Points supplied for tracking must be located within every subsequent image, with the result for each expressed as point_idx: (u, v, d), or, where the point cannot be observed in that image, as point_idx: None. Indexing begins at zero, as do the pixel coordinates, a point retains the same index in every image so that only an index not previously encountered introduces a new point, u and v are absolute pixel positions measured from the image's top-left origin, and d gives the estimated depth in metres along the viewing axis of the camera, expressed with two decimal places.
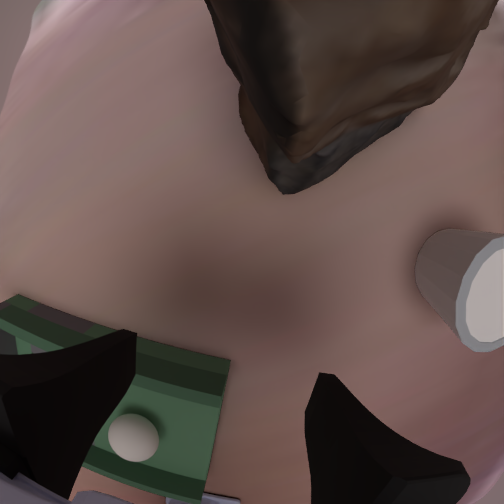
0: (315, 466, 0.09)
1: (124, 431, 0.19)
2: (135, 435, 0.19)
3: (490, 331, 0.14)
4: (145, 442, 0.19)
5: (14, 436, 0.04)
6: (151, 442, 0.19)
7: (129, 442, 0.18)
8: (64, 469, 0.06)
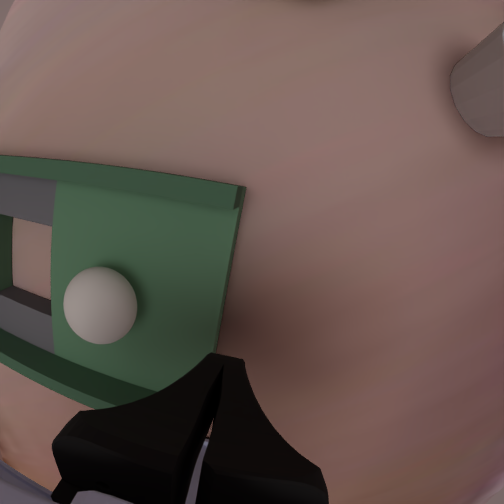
0: None
1: (86, 279, 0.14)
2: (101, 285, 0.14)
3: None
4: (114, 298, 0.14)
5: None
6: (124, 301, 0.14)
7: (90, 295, 0.13)
8: None
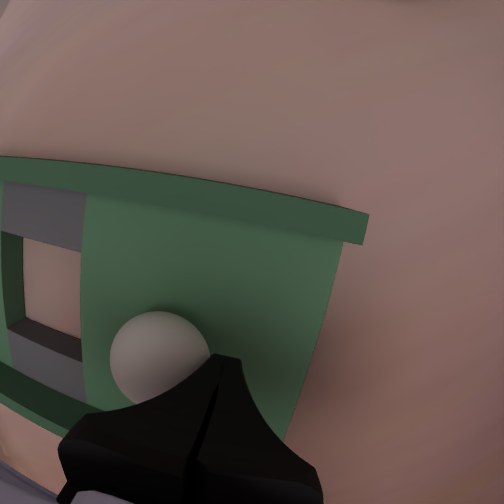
0: None
1: (145, 334, 0.10)
2: (168, 342, 0.10)
3: None
4: (188, 359, 0.10)
5: None
6: (200, 361, 0.11)
7: (154, 357, 0.10)
8: None
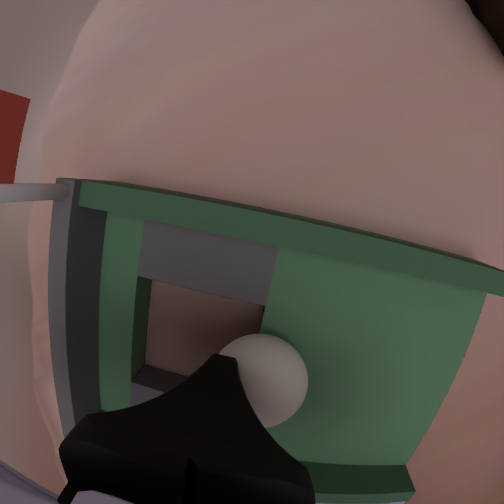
0: None
1: (264, 334, 0.13)
2: (249, 337, 0.12)
3: None
4: (230, 349, 0.12)
5: None
6: None
7: (243, 336, 0.13)
8: None
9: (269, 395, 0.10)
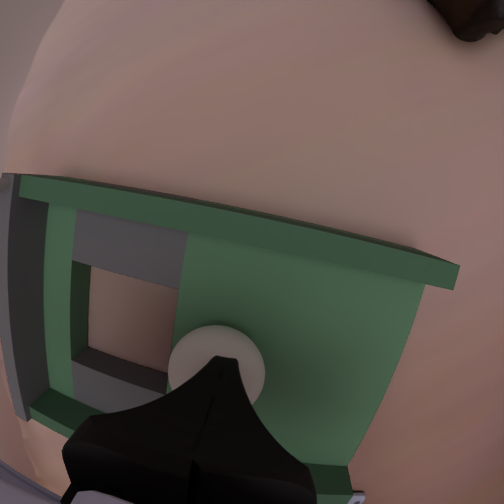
0: None
1: (204, 327, 0.12)
2: (207, 336, 0.12)
3: None
4: (206, 355, 0.11)
5: None
6: None
7: (189, 339, 0.12)
8: None
9: (262, 373, 0.12)
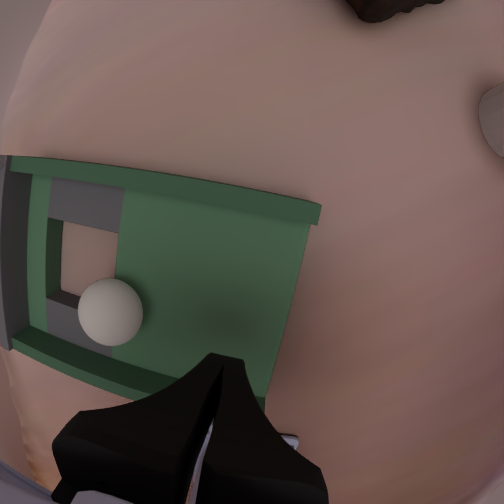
0: None
1: None
2: (83, 292, 0.17)
3: None
4: None
5: None
6: None
7: None
8: None
9: (98, 321, 0.15)
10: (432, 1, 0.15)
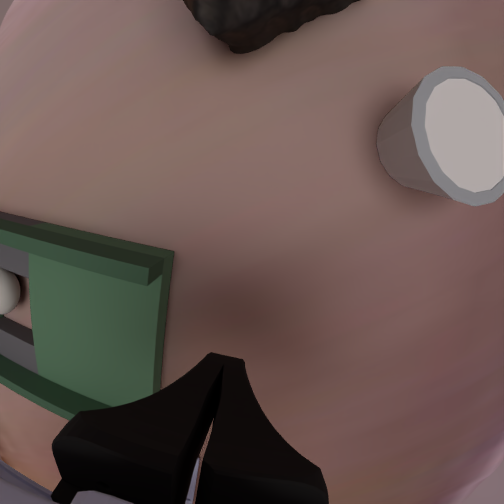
0: None
1: None
2: None
3: (469, 176, 0.12)
4: None
5: None
6: None
7: None
8: None
9: None
10: (326, 11, 0.16)
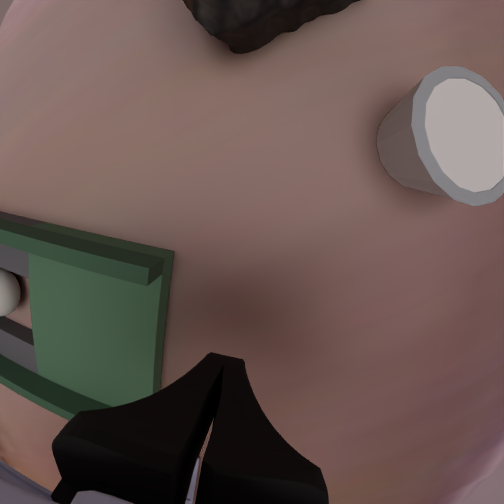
0: None
1: None
2: None
3: (469, 176, 0.12)
4: None
5: None
6: None
7: None
8: None
9: None
10: (326, 11, 0.16)
